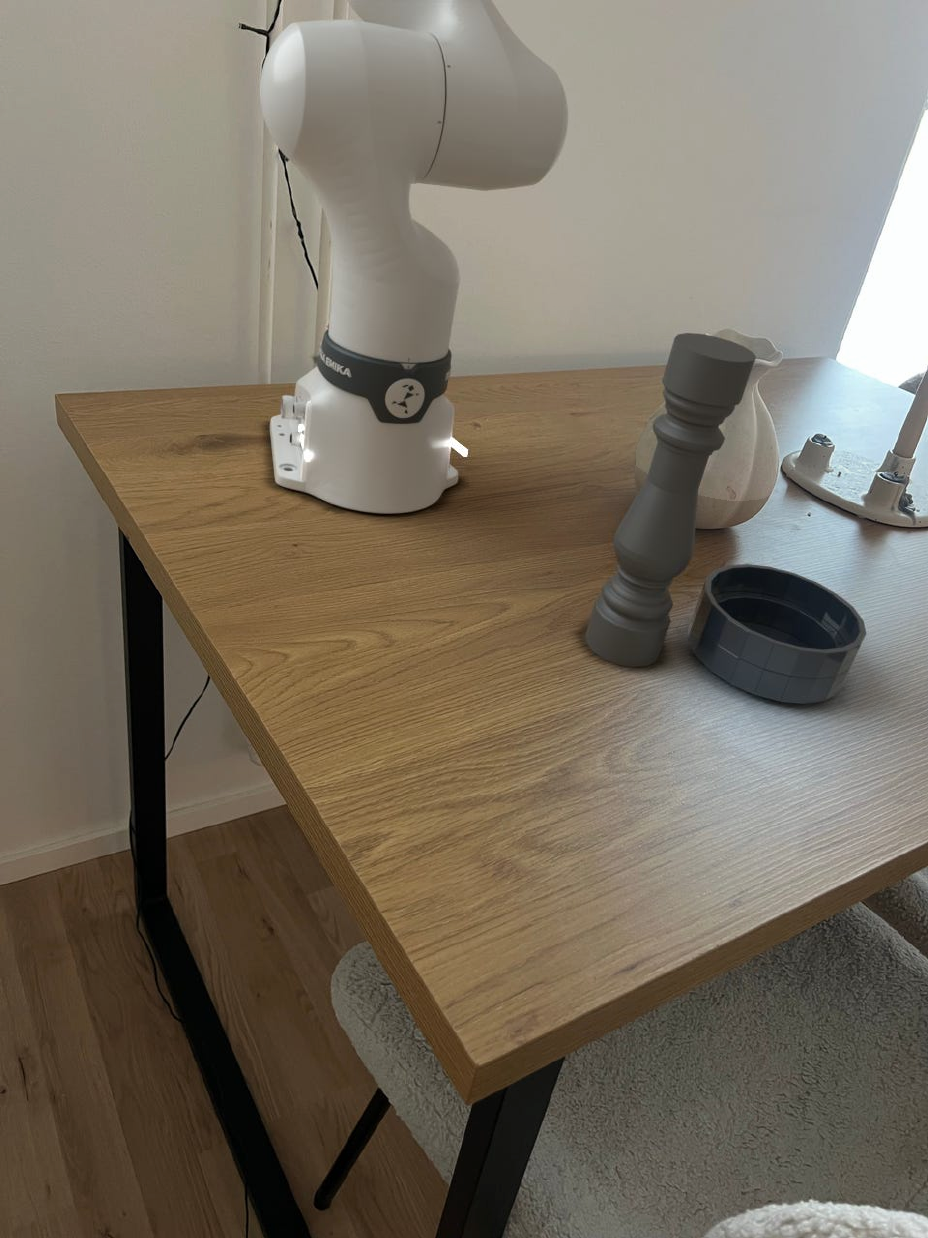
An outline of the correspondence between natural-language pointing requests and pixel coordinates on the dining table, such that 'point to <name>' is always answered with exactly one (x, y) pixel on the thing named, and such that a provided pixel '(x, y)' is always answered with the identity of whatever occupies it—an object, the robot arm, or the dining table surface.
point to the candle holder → (667, 499)
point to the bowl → (775, 633)
